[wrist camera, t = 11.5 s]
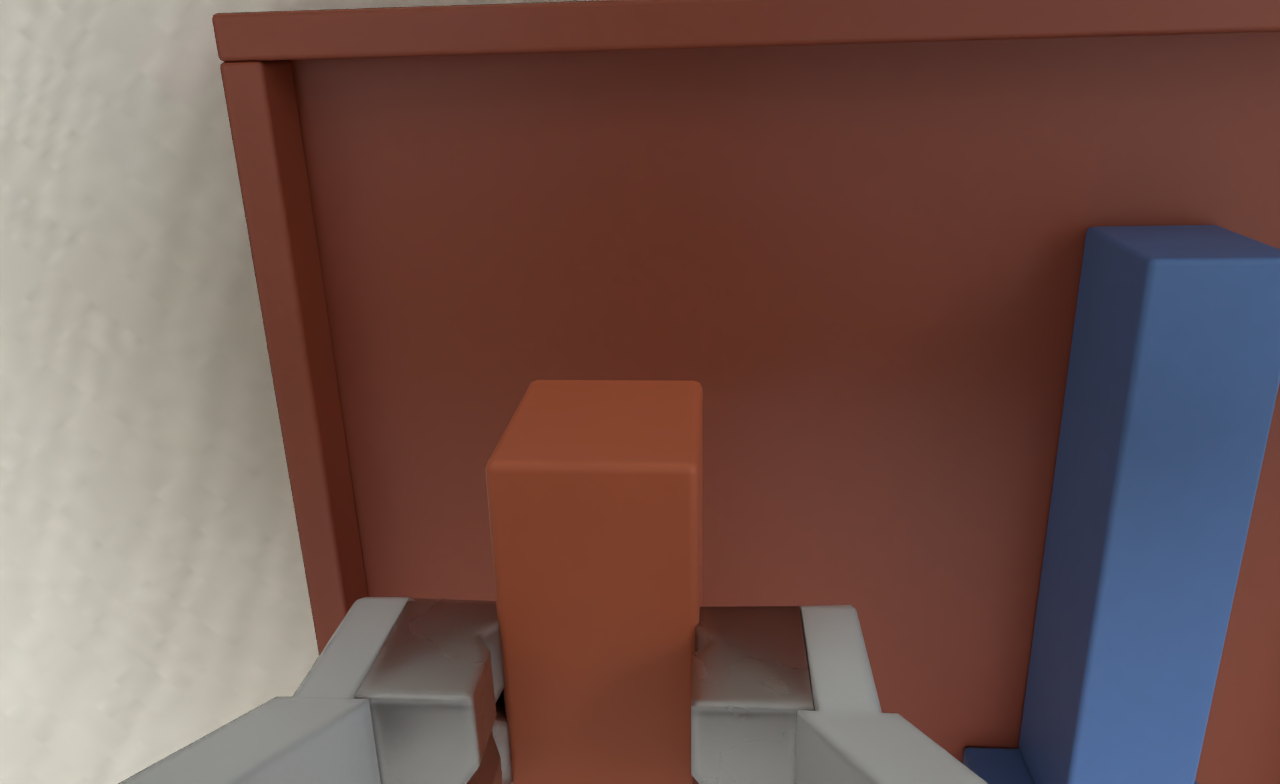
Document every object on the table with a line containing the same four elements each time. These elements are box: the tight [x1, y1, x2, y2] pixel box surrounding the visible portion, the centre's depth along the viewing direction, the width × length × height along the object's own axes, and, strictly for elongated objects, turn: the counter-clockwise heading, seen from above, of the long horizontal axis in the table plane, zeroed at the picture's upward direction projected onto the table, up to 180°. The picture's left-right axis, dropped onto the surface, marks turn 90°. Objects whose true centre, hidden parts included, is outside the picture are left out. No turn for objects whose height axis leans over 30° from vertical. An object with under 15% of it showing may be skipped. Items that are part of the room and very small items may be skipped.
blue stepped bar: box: [963, 225, 1280, 784], centre depth 15 cm, size 13×4×2 cm, turn 2°
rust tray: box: [212, 0, 1280, 784], centre depth 15 cm, size 17×17×2 cm
